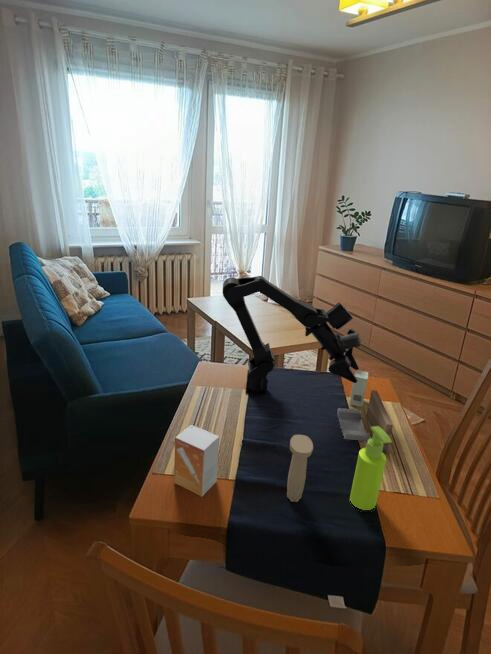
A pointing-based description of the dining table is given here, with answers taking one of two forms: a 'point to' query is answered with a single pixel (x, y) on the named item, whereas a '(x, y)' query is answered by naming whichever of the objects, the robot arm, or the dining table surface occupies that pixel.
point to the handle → (298, 466)
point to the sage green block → (359, 388)
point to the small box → (196, 460)
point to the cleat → (352, 424)
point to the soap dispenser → (369, 471)
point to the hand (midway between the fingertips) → (357, 375)
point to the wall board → (379, 418)
